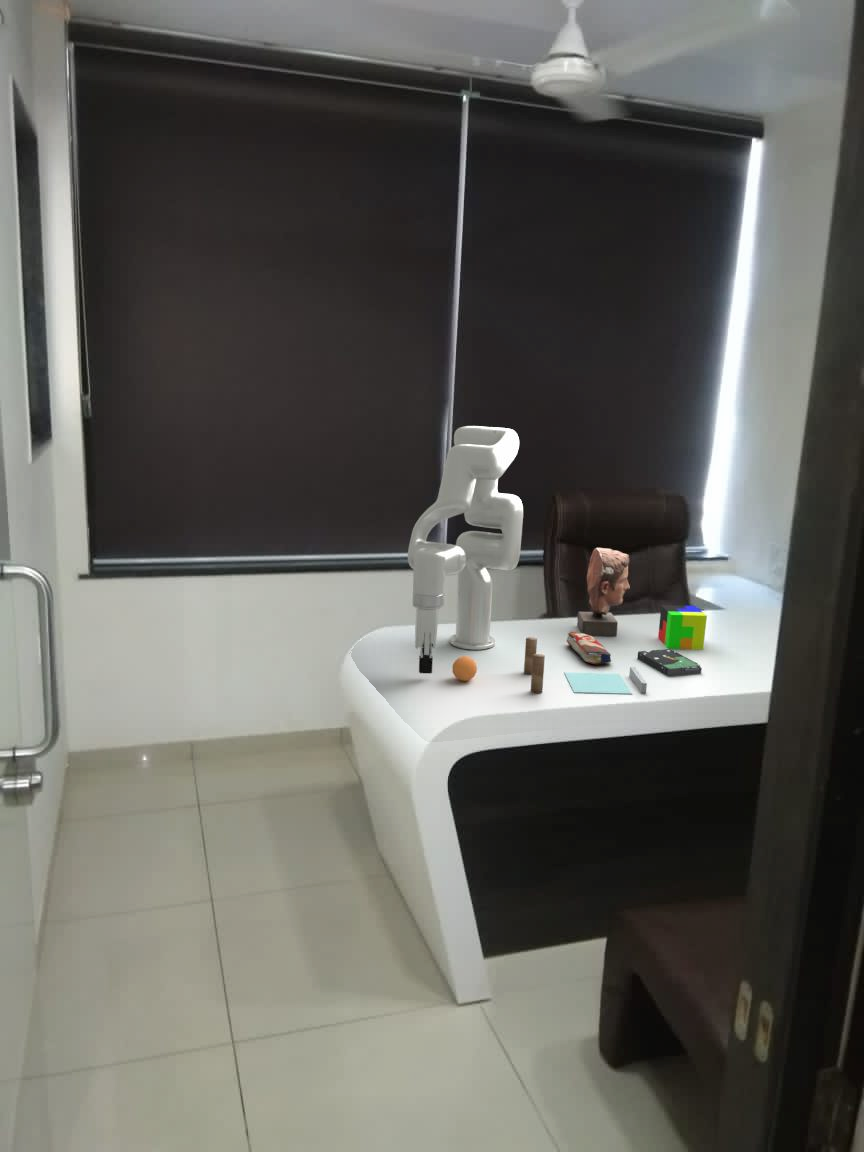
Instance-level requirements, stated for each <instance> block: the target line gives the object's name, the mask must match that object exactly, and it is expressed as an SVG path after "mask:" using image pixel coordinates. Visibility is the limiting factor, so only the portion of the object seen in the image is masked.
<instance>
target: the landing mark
mask: <svg viewBox="0 0 864 1152" xmlns="http://www.w3.org/2000/svg"><path fill="white" fill-rule="evenodd" d="M564 675H565V678H566V679H567V682H568V683H569V685H570V688H571V690H572V691H573V693H574V694H606V695H608V694H609V695H612V694H613V695H633V692H632V691H631V690H630V688H629V686H628V685H627V684H626V682H625V681H624V679H623V678H622V676H621V675H620V673H606V672H605V673H604V672H603V673H602V672H601V673H600V672H599V673H597V672H564Z"/></svg>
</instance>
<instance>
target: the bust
mask: <svg viewBox="0 0 864 1152" xmlns="http://www.w3.org/2000/svg"><path fill="white" fill-rule="evenodd" d="M629 565H630V555H629V554H627V553H623V552H622V551H619V550H614V549H612V548H605V547H604V548H603V547H596V548H594V549H593V550H592V553H591V556H590V558H589V564H588V568H587V574H586V583H587V594H588V595H589V601H588V602H589V604H590V605H591V610H592V611H578V613H577V618H576V619H577V623H576V624H577V628H578V630H579V631H580V633H583V634H587V635H590V636H592V637H594V636H595V637H613V638H614V637H617V635H618V634H617V633H618V623H619V622H618V620H617V619H616V617H615V616H614V615H613V613H612V612H609V611H610V608H611V607H612V606H620V605H622V604H623V602H624V598H623V597H624V594H625V593H626V591H629V590H630V589H631V587H630V584H629V581H628V576H629Z"/></svg>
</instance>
